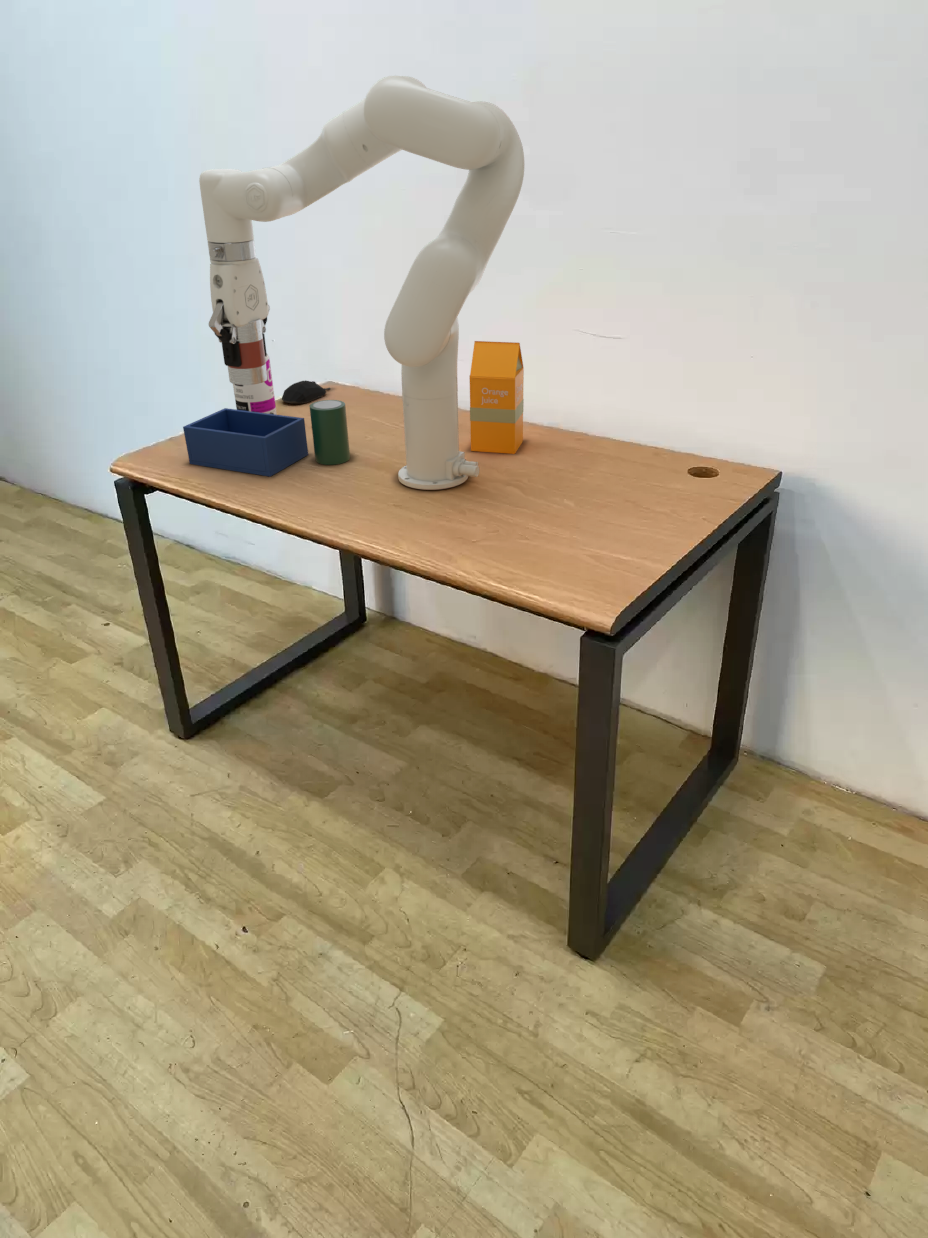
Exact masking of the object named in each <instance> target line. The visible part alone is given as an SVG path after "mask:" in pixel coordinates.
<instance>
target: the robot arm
mask: <svg viewBox="0 0 928 1238" xmlns="http://www.w3.org/2000/svg"><path fill="white" fill-rule="evenodd" d="M523 147H524V146H523V143H522V140H521V138H520V134H519V132H518V130H517V128H516V127H515V124H514V123H513V121H512V119H511V118H510V117H509V116H508V114H507V113H506V112H505V111H504V110H503V109H502V108H500V107H499V106H498V105H496V104H494V103H492V102H489V101H483V100H482V101H480V100H479V101H477V100H476V101H470V100H468V99H467V100H466V99H463V98H459V97H457V96H454V95H450V94H446V93H444V92H441V91H438V90H434V89H431V88H428V87H427V86H426V85H425V84H424V83H423V82H422V81H420V80H419V79H418V78H415V77H412V76H409V75H408V76H406V75H405V76H404V75H388V76H385V77H382V78H380V79H379V80H377V81H375V83H373V84H372V86H371V87H370V88H369V89H368V92H367V93H366V95H365V98H363V99H361V100H360V101H358V102H357V103H355V104H353V105H352V106H350V107H348V108H347V109H346V110H344V111H342V112H340V113H339V114H337V115H336V116H334V117H332V118H331V119H329V120H328V121H326V123H324V124H323V126H322V127H321V131H320V134H319V136H318V137H317V138H316V140H314V141H313V142H312V143H311V144H309V145H308V146H307V147H306V148H304V149H302V150H301V151H299V152H298V153H297V154H295V155H293V156H292V157H290V158H288V159H287V160H285V161H283V162H281V163H279V164H277V165H273V166H268V167H262V168H258V169H253V170H248V171H242V170H240V169H237V168H212V169H206V170H203V171H202V172H201V173H200V174H199V180H198V183H199V190H200V197H201V198H200V199H201V204H202V212H203V213H202V214H203V219H204V225H205V233H206V241H207V248H208V255H209V261H210V263H209V288H210V301H211V308H212V314H211V317H210V318H209V321H208V327H209V328H210V330H212V332H213V334H214V335H215V336H216V338H217V339H218V343H221V348H222V356H223V363H224V365H225V366H227V367H228V366H234V367H240V366H241V364H242V363H241V355H240V348H239V343H236V338H237V327H242V326H245V325H247V324H248V322H251V321H254V320H257V319H261V327H262V336H263V343H264V352H265V356H266V355H267V354H268V353H267V345H266V338H265V337H266V336H265V333H266V332H267V328H266V325H267V322H268V316H269V314H270V310H271V306H270V304H269V303H268V297H267V296H268V294H267V289H266V284H265V279H264V273H263V271H262V267H261V263H260V261H259V258H257V253H256V245H255V235H254V228H253V227H254V226H253V222H262V223H267V222H273V221H276V220H280V219H282V218H285V217H289V216H293V215H294V214H297V213H299V212H301V211H302V210H304V209H306V208H307V207H309V206H310V205H312V204H314V203H317V201H319V200H320V199H322V198H324V197H325V196H328V195H329V194H331V193H332V192H333V191H335V190H337V189H338V188H340V187H342V186H343V185H345V184H347V183H349V182H352V181H353V180H354V179H356V178H357V177H359V176H360V175H362V174H364V173H366V172H367V171H369V170H370V169H372V168H373V167H375V166H376V165H378V164H380V163H382V162H383V161H385V160H386V159H388V158H390V157H392V156H393V155H396V154H397V153H400V152H401V151H405V152H408V153H410V154H414V155H416V156H419V157H422V158H426V159H428V160H431V161H434V162H437V163H440V164H444V165H446V166H449V167H452V168H457V169H460V170H467V171H468V172H467V175H466V176H467V177H466V179H465V181H464V184H463V186H462V187H461V190H459V193H458V195H457V196H456V199H455V201H454V203H453V206H452V209H451V211H450V213H449V215H448V217H447V219H446V220H445V223H444V225H443V227H442V229H441V231H440V232H439V234H438V235H437V236H436V237H435V238H434V239H432V240H431V241H429V242H428V243H426V244H425V245H424V246H423V248H422V249H420V251H419V252H418V253H417V255H416V257H415V259H414V261H413V262H412V265H411V267H410V268H409V270H408V273H407V275H406V277H405V279H404V282H403V284H402V286H401V288H400V290H399V292H398V295H397V297H396V299H395V301H394V303H393V305H392V308H391V309H390V312H389V313H388V317H387V319H386V322H385V324H384V330H383V339H384V345H385V347H386V350H387V351H388V354H389V355H390V356H391V357H392V359H393V360H394V361H396V362H397V363H398V364H400V365H401V369H400V370H401V371H400V373H401V396H402V397H401V398H402V413H403V414H402V415H403V430H404V431H403V432H404V433H403V434H404V448H405V465H404V466H402V467H401V468H400V469H399V470H398V473H397V477H398V481H399V483H401V484H402V485H404V486H405V487H408V488H412V489H416V490H425V491H426V490H427V491H435V490H446V489H451V488H454V487H457V486H460V485H462V484H463V483H465V482H466V481H467V480H468V478H469V477H472V478H478V476H479V475H480V466H479V462H478V461H473V460H471V461H469V460H467V459H466V456H465V455H466V454H465V451H462V450H461V451H460V434H459V433H460V432H459V431H460V430H459V427H460V426H459V397H458V396H459V395H458V392H459V390H458V389H459V388H458V385H459V383H458V355H459V339H460V337H459V336H460V325H459V319H458V316H459V314H460V312H461V311H462V308H463V306H464V304H465V302H466V300H467V299H468V297H469V295H470V294H471V293H472V292H473V291H474V290H475V289H476V288H477V286H478V285H479V284H480V282H481V280H482V278H483V276H484V273H485V271H486V268H487V265H488V263H489V261H490V259H491V257H492V255H493V253H494V251H495V249H496V247H497V245H498V243H499V241H500V239H501V237H502V234H503V232H504V230H505V227H506V225H507V224H508V221H509V219H510V217H511V215H512V213H513V211H514V209H515V207H516V204H517V202H518V199H519V196H520V193H521V191H522V187H523V182H524V176H525V153H524V148H523ZM227 321H229V322H230V323H225V322H227ZM226 328H231V330H230V334H229V333H228V332H227V331H226Z"/></svg>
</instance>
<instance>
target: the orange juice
mask: <svg viewBox="0 0 928 1238" xmlns="http://www.w3.org/2000/svg"><path fill="white" fill-rule="evenodd" d="M471 357H472V358H471V365H470V374H469V421H470V422H469V425H470V426H469V427H470V451H471V452H481V453H494V454H510V455H511V454H512V455H515V454H516V453H517V451H518V450H519V448H520V447H521V446H522V443H523V442H524V400H525V399H524V375H525V373H524V371H525V368H524V362H523V356H522V350H521V342H513V341H512V342H511V341H510V342H509V341H488V340H487V341H485V340H474V342H473V350H472V356H471Z"/></svg>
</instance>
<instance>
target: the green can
mask: <svg viewBox="0 0 928 1238" xmlns="http://www.w3.org/2000/svg"><path fill="white" fill-rule="evenodd" d="M309 414H310V424H311V431H312V432H311V433H312V441H313V451H314V461H315V462H316V463H317V464H320V465H323V466H333V465H335V466H336V465H340V464H345V463H346V462H348V461H350V459H351V454H350V453H351V452H350V441H349V430H348V420H347V419H348V418H347V409H346V403H345V401H342V400H338V399H323V400H318V401H315V402H311V403H310V404H309Z"/></svg>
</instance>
